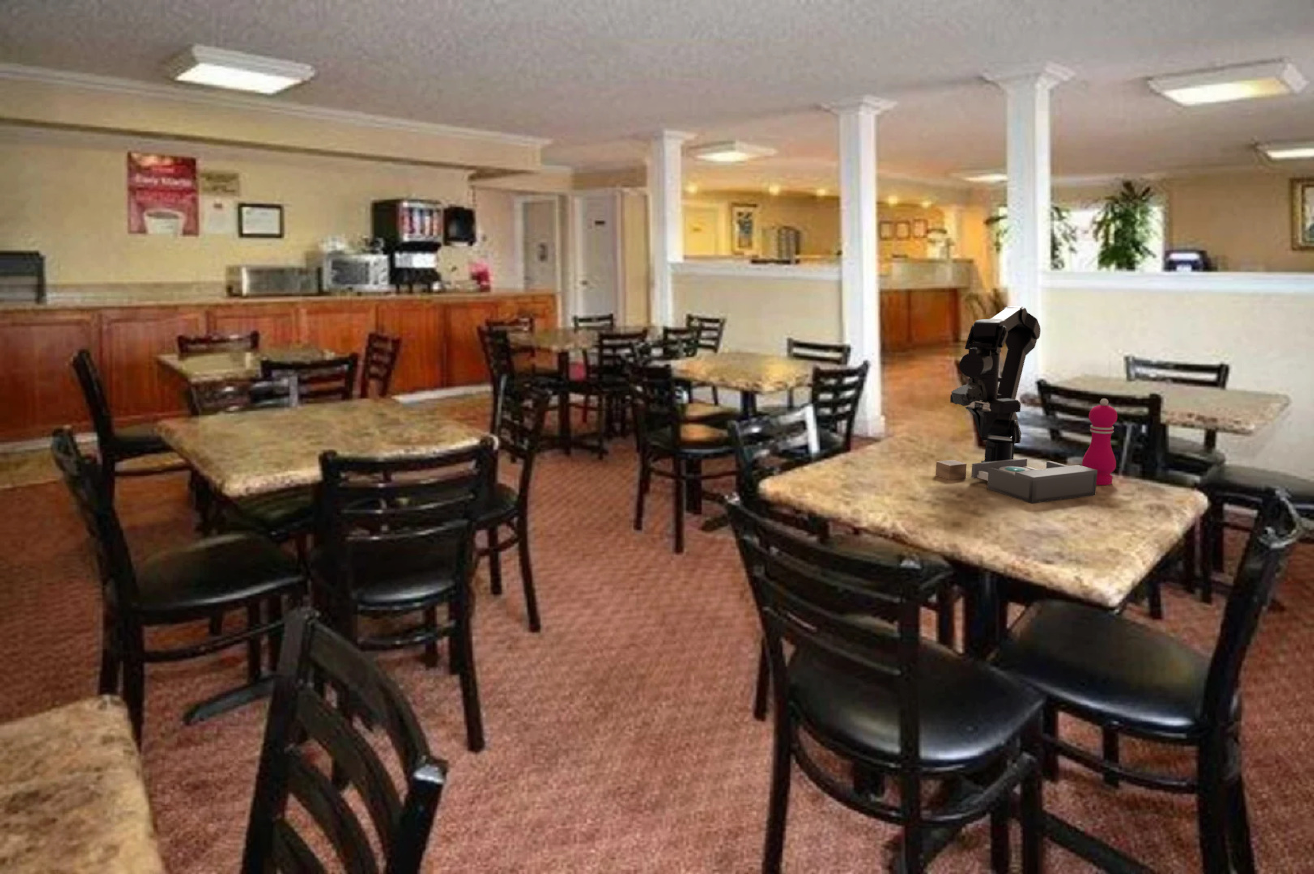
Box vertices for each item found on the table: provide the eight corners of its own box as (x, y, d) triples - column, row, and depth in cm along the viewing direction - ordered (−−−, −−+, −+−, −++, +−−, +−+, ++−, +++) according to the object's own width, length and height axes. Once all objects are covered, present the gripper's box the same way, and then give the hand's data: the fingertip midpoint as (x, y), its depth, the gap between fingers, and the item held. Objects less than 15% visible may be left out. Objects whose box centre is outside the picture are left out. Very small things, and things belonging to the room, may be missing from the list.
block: (952, 473, 227) (953, 459, 227) (965, 477, 223) (966, 463, 222) (935, 475, 225) (936, 461, 225) (948, 479, 221) (949, 465, 220)
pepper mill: (1087, 477, 222) (1094, 395, 219) (1118, 482, 217) (1126, 398, 214) (1075, 482, 217) (1082, 398, 214) (1107, 487, 212) (1115, 402, 209)
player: (1048, 481, 218) (1050, 457, 217) (1095, 495, 206) (1097, 469, 205) (987, 488, 212) (988, 464, 211) (1031, 503, 199) (1033, 477, 198)
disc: (1015, 471, 221) (1016, 464, 220) (1037, 478, 214) (1037, 471, 214) (992, 474, 218) (992, 467, 218) (1012, 480, 212) (1013, 473, 212)
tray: (1023, 471, 224) (1024, 458, 224) (1065, 483, 212) (1066, 469, 211) (971, 477, 219) (972, 463, 218) (1011, 490, 206) (1012, 475, 206)
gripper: (933, 370, 227) (930, 432, 230) (985, 379, 210) (981, 446, 213) (970, 368, 231) (967, 429, 234) (1024, 376, 214) (1020, 442, 217)
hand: (982, 436), depth 224 cm, fingers closed
